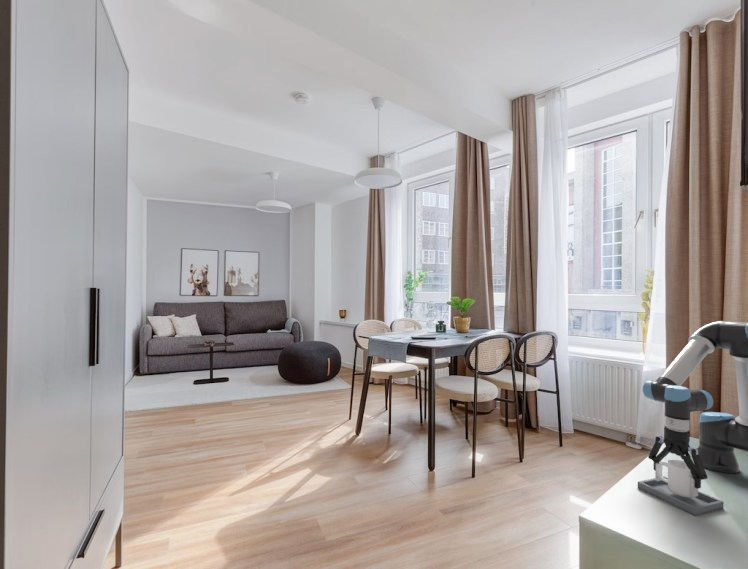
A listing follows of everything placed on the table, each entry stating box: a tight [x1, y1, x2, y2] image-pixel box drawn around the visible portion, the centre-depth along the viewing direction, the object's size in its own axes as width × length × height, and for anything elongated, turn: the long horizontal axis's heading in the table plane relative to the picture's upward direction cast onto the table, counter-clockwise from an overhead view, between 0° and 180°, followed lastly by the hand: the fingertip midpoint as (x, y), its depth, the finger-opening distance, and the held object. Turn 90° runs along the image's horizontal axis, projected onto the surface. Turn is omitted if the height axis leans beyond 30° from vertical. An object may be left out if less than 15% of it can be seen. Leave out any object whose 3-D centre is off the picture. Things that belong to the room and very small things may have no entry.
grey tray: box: [637, 475, 725, 517], centre depth 145 cm, size 15×20×2 cm
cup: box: [657, 459, 693, 498], centre depth 147 cm, size 8×12×10 cm
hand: (675, 488), depth 146 cm, fingers closed on cup, 12 cm apart
